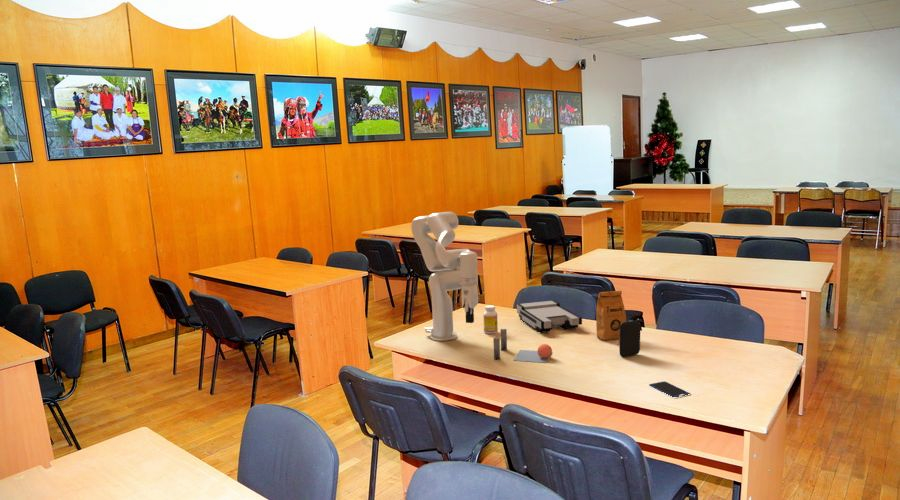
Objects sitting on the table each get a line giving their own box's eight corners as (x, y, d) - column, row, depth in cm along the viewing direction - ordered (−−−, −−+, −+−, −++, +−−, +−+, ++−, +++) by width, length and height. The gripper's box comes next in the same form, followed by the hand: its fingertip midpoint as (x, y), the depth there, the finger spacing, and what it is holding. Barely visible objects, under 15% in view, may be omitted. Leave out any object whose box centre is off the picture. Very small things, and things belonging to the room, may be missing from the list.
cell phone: (674, 399, 207) (674, 397, 207) (648, 386, 220) (648, 384, 220) (692, 396, 210) (692, 394, 209) (664, 382, 222) (664, 380, 222)
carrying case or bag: (639, 352, 255) (639, 318, 253) (643, 354, 252) (644, 320, 250) (617, 356, 251) (617, 321, 249) (622, 358, 249) (622, 323, 246)
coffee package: (628, 340, 272) (629, 292, 269) (601, 342, 271) (601, 294, 268) (620, 334, 282) (620, 287, 278) (594, 336, 281) (594, 289, 277)
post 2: (500, 350, 265) (499, 330, 264) (501, 348, 267) (501, 328, 266) (506, 350, 264) (505, 330, 263) (507, 348, 267) (507, 328, 265)
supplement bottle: (496, 334, 289) (496, 308, 287) (482, 334, 290) (482, 308, 288) (498, 330, 295) (497, 304, 293) (484, 330, 296) (484, 304, 294)
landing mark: (513, 360, 251) (513, 360, 251) (520, 350, 264) (520, 349, 264) (547, 363, 247) (547, 362, 247) (552, 352, 260) (552, 351, 260)
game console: (541, 336, 284) (540, 319, 283) (517, 319, 315) (516, 304, 314) (582, 331, 289) (581, 315, 288) (554, 315, 320) (554, 300, 319)
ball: (546, 363, 249) (533, 355, 251) (548, 358, 255) (536, 351, 256) (553, 351, 248) (540, 343, 249) (555, 347, 254) (543, 339, 255)
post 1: (493, 360, 253) (492, 339, 251) (494, 358, 255) (494, 337, 254) (499, 360, 252) (498, 339, 251) (500, 358, 254) (500, 337, 253)
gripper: (472, 285, 251) (473, 327, 254) (481, 277, 265) (482, 318, 268) (455, 284, 253) (456, 326, 256) (465, 276, 267) (466, 317, 270)
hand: (469, 322), depth 262 cm, fingers closed
